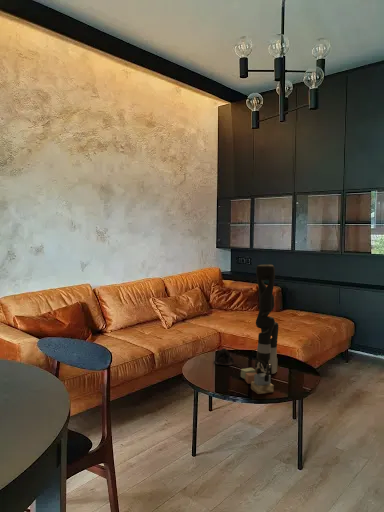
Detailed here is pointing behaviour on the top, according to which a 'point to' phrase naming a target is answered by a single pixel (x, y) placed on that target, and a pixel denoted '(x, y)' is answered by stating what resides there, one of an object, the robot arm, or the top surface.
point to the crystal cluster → (224, 358)
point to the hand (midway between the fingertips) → (262, 378)
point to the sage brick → (247, 370)
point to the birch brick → (262, 388)
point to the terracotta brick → (250, 377)
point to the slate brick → (261, 379)
